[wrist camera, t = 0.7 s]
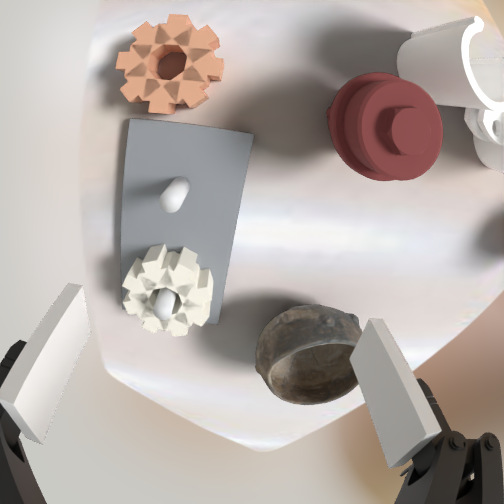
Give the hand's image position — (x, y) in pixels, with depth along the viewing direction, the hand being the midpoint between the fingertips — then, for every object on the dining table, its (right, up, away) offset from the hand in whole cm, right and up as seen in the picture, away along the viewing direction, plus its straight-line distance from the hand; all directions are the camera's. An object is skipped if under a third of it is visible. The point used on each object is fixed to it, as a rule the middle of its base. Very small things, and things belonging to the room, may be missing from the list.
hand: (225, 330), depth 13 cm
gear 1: (-7, +22, +13) cm, 27 cm away
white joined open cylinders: (+30, +23, +16) cm, 41 cm away
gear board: (-7, +6, +21) cm, 24 cm away
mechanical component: (+12, +18, +17) cm, 28 cm away
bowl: (+9, -7, +29) cm, 32 cm away
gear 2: (-9, 0, +23) cm, 24 cm away
